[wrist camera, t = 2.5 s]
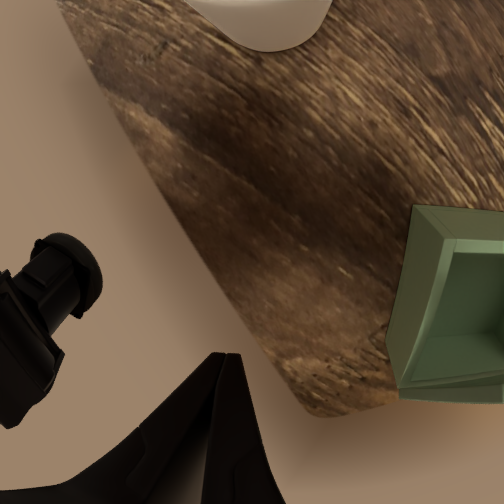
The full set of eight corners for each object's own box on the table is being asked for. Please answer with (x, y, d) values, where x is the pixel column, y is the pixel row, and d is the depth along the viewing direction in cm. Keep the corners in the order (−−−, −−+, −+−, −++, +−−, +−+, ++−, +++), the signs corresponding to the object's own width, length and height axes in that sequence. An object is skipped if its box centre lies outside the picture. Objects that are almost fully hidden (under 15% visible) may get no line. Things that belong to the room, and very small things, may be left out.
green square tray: (412, 203, 19) (444, 238, 14) (533, 215, 18) (572, 245, 13) (384, 340, 24) (397, 388, 20) (493, 332, 23) (516, 371, 18)
